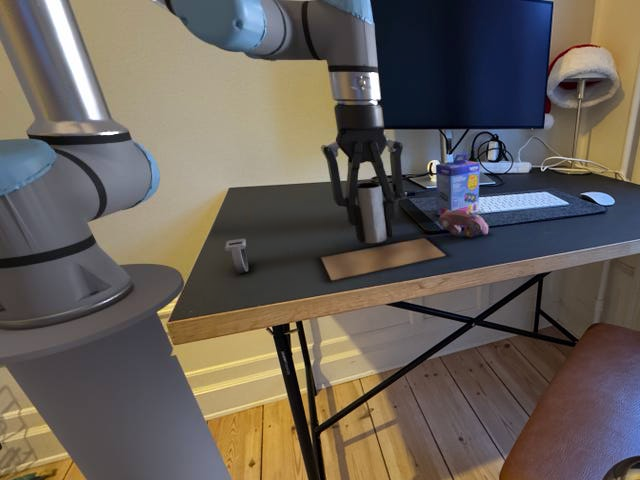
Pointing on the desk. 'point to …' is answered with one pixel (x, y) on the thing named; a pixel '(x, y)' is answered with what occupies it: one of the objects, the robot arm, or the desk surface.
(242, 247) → the wristwatch
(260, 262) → the desk surface
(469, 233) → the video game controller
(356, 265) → the cork mat
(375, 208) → the planter
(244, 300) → the desk surface
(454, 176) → the ink cartridge box
